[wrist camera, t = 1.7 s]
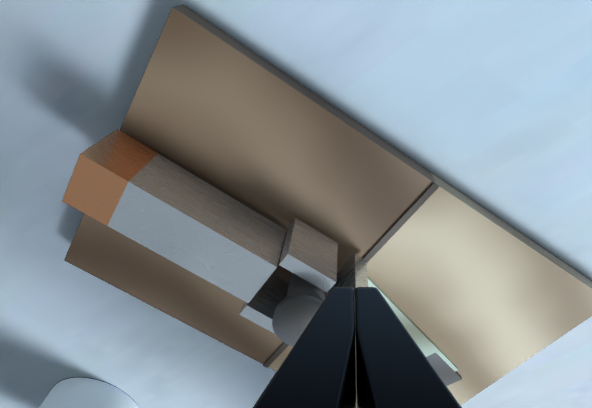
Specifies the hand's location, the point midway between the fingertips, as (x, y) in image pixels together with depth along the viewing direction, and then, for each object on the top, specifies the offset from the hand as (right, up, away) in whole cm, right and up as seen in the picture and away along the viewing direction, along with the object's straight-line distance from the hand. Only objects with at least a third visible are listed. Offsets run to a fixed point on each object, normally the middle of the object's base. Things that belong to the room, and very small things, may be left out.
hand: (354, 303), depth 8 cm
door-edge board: (+1, -2, +15) cm, 15 cm away
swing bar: (-4, +1, +12) cm, 13 cm away
